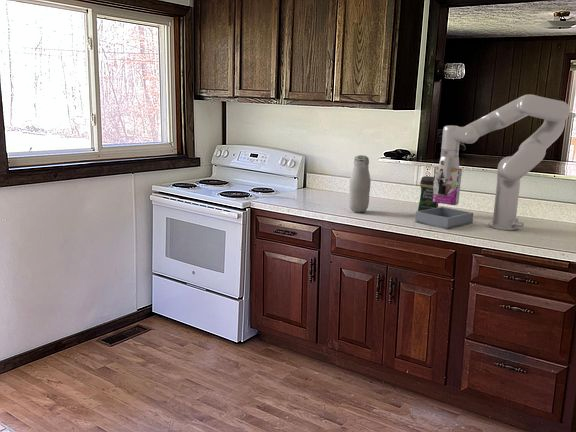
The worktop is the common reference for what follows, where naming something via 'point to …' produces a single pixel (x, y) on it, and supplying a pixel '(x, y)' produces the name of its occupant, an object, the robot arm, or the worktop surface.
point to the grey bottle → (359, 185)
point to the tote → (444, 217)
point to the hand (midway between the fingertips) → (446, 192)
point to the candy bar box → (448, 188)
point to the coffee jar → (426, 194)
